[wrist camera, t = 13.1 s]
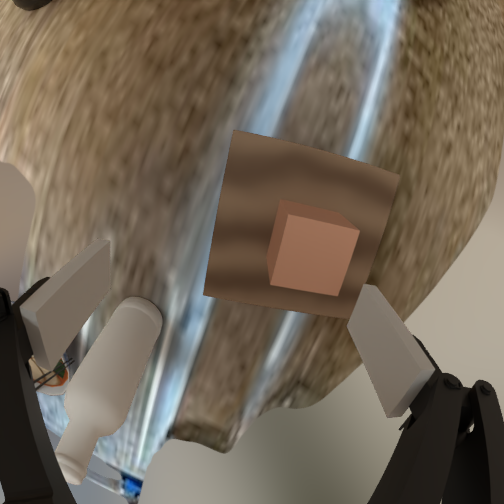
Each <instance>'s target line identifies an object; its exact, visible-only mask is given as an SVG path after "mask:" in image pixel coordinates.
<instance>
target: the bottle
mask: <svg viewBox="0 0 504 504" xmlns="http://www.w3.org/2000/svg"><path fill="white" fill-rule="evenodd" d="M162 320H163V319H162V316H161V313H160V311H159V310H158V308H157V307H156V306H155V305H154V304H153V303H151V302H150V301H149V300H147V299H144V298H141V297H129V298H126V299H125V300H124V301H122V302H121V303H120V305H119V306H118V307H117V308H116V309H115V311H114V313H113V315H112V317H111V318H110V319H109V321H108V322H107V324H106V325H105V327H104V328H103V330H102V331H101V333H100V334H99V336H98V337H97V339H96V340H95V342H94V344H93V345H92V347H91V348H90V350H89V351H88V353H87V354H86V356H85V358H84V359H83V361H82V362H81V364H80V366H79V367H78V369H77V370H76V372H75V374H74V375H73V377H72V379H71V380H70V382H69V384H68V385H67V388H66V394H65V402H64V408H65V410H66V413H67V415H68V417H69V420H70V421H69V423H68V425H67V427H66V429H65V431H64V433H63V436H62V438H61V440H60V442H59V444H58V446H57V448H56V450H55V452H54V453H55V456H56V458H57V461H58V463H59V466H60V468H61V471H62V473H63V475H64V478H65V480H66V482H68V483H71V484H74V485H80V484H81V483H82V480H83V479H84V478H85V477H86V474H87V470H86V469H87V467H88V464H89V461H90V458H91V456H92V453H93V451H94V448H95V446H96V443H97V440H98V438H99V437H103V436H108V435H111V434H114V433H115V432H116V431H117V430H118V429H119V428H120V427H121V425H122V424H123V423H124V421H125V419H126V417H127V414H128V411H129V409H130V406H131V403H132V401H133V398H134V395H135V393H136V390H137V387H138V385H139V382H140V380H141V377H142V374H143V372H144V369H145V367H146V364H147V362H148V359H149V357H150V354H151V352H152V349H153V347H154V344H155V342H156V340H157V338H158V336H159V334H160V331H161V327H162Z"/></svg>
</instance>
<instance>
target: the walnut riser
mask: <svg viewBox="0 0 504 504" xmlns="http://www.w3.org/2000/svg"><path fill="white" fill-rule="evenodd" d="M399 179H400V175H398V174H395V173H392V172H390V171H387V170H384V169H381V168H378V167H375V166H372V165H369V164H366V163H363V162H360V161H357V160H354V159H350V158H347V157H344V156H341V155H337V154H334V153H330V152H327V151H323V150H320V149H316V148H312V147H308V146H305V145H301V144H297V143H293V142H289V141H284V140H280V139H276V138H271V137H267V136H262V135H258V134H253V133H248V132H243V131H238V130H233V135H232V140H231V144H230V149H229V154H228V159H227V164H226V169H225V174H224V179H223V184H222V189H221V194H220V199H219V205H218V210H217V215H216V221H215V226H214V232H213V237H212V243H211V249H210V255H209V261H208V267H207V273H206V279H205V285H204V292H203V295H204V296H210V297H215V298H220V299H225V300H231V301H236V302H242V303H247V304H253V305H259V306H265V307H270V308H277V309H283V310H289V311H295V312H302V313H308V314H315V315H322V316H329V317H336V318H344V319H350V317H351V315H352V312H353V310H354V308H355V305H356V303H357V300H358V297H359V295H360V292H361V290H362V287H363V284H366V281H367V278H368V276H369V273H370V270H371V268H372V265H373V262H374V259H375V257H376V254H377V251H378V248H379V245H380V242H381V239H382V236H383V233H384V230H385V227H386V224H387V221H388V217H389V214H390V211H391V207H392V204H393V201H394V197H395V194H396V190H397V186H398V183H399ZM280 199H282V200H287V201H291V202H296V203H300V204H304V205H309V206H313V207H317V208H321V209H326V210H330V211H334V212H338V213H340V214H341V215H342V216H343V217H345V218H346V219H347V220H348V221H349V222H350V223H352V224H353V225H354V226H355V227H356V228H357V229H359V230H360V233H359V236H358V239H357V242H356V245H355V248H354V251H353V254H352V257H351V260H350V263H349V266H348V269H347V272H346V275H345V277H344V280H343V283H342V286H341V289H340V291H339V294H338V296H333V295H327V294H321V293H315V292H309V291H303V290H297V289H291V288H285V287H280V286H274V285H270V279H269V273H268V266H267V259H266V256H267V252H268V248H269V244H270V240H271V236H272V232H273V227H274V223H275V219H276V215H277V211H278V207H279V202H280Z"/></svg>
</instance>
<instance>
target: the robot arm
mask: <svg viewBox="0 0 504 504" xmlns="http://www.w3.org/2000/svg"><path fill="white" fill-rule="evenodd" d="M50 1H51V0H13V2H14V3H15V5H16V6H18V7H20V8H22V9H25V10H34V9H37V8H40V7H42V6H43V5H45V4H47V3H48V2H50ZM110 289H111V275H110V241H109V240H103V239H98V238H97V239H96V240H95V241H93V242H92V243H91V244H90V245H88V246H87V247H86V248H85V249H84V250H82V251H81V252H80V253H79V254H77V255H76V256H75V257H74V258H73V259H72V260H70V261H69V262H68V263H67V264H66V265H65V266H63V267H62V268H61V269H60V270H59V271H58V272H56V273H55V274H54V275H53V276H52V277H51V278H50V277H46V278H44V279H41V280H39V281H37V282H36V283H35V284H34V285H33V286H32V287H31V288H30V289H29V290H27V291H26V293H24V294H23V295H22V296H21V297H20V298H19V299H18V300H17V301H16V302H14V303H13V304H12V305H11V300H10V297H9V293H8V291H7V290H6V289H4V288H0V482H1V485H2V489H3V492H4V496H5V502H4V503H3V504H77V503H76V501H75V499H74V497H73V495H72V493H71V491H70V489H69V487H68V485H67V482H66V480H65V478H64V475H63V473H62V471H61V468H60V466H59V463H58V461H57V458H56V456H55V453H54V451H53V448H52V445H51V442H50V439H49V436H48V433H47V430H46V427H45V423H44V420H43V416H42V413H41V409H40V406H39V402H38V398H37V394H36V389H35V385H34V380H33V376H32V371H31V366H30V363H29V359H30V358H31V357H32V355H34V358H35V361H36V364H37V366H40V367H42V368H44V369H47V370H49V371H53V369H54V368H55V366H56V365H57V363H58V362H59V360H60V359H61V357H62V356H63V354H64V353H65V351H66V350H67V348H68V347H69V345H70V344H71V342H72V341H73V339H74V338H75V337H76V335H77V334H78V332H79V331H80V329H81V328H82V327H83V325H84V324H85V322H86V321H87V320H88V318H89V317H90V316H91V314H92V313H93V312H94V310H95V309H96V307H97V306H98V305H99V303H100V302H101V301H102V299H103V298H104V297H105V296H106V294H107V293H108V292H109V290H110ZM347 328H348V330H349V332H350V335H351V337H352V339H353V341H354V343H355V345H356V348H357V350H358V352H359V354H360V356H361V359H362V361H363V363H364V365H365V367H366V370H367V372H368V374H369V376H370V379H371V381H372V383H373V385H374V388H375V390H376V393H377V395H378V397H379V400H380V402H381V404H382V407H383V409H384V411H385V414H386V416H387V418H392V417H401V416H402V415H403V414H404V413H405V411H406V410H407V409H408V407H409V408H410V410H411V412H412V414H411V415H410V416H409V417H408V418H407V420H406V421H405V422H404V423H403V425H402V426H401V427H400V428H399V430H401V429H402V428H403V427H404V429H403V431H402V434H401V436H400V439H399V441H398V444H397V446H396V448H395V450H394V453H393V455H392V457H391V460H390V462H389V463H388V466H387V468H386V470H385V472H384V474H383V476H382V478H381V480H380V482H379V484H378V485H377V487H376V489H375V491H374V493H373V495H372V496H371V498H370V500H369V502H368V503H367V504H440V502H441V499H442V504H504V422H503V417H502V413H501V409H500V406H499V402H498V399H497V395H496V392H495V390H494V388H493V387H492V385H491V384H490V383H488V382H486V381H484V380H478V381H476V383H475V384H474V385H473V387H472V388H467V387H463V385H462V383H461V382H460V380H459V379H458V378H457V377H455V376H454V375H452V374H449V373H442V372H441V370H440V369H439V367H438V366H437V364H436V363H435V361H434V360H433V358H432V357H431V356H430V355H429V353H428V351H427V350H426V348H425V347H424V345H423V344H422V342H421V341H420V340H419V339H417V338H416V337H415V336H414V335H412V334H411V333H410V331H409V330H408V329H407V327H406V326H405V324H404V323H403V322H402V320H401V319H400V317H399V316H398V315H397V313H396V312H395V311H394V309H393V308H392V307H391V305H390V304H389V303H388V301H387V300H386V299H385V297H384V296H383V295H382V293H381V292H380V291H379V289H378V288H377V287H376V286H374V285H368V284H363V287H362V290H361V292H360V295H359V297H358V300H357V303H356V305H355V308H354V310H353V312H352V315H351V317H350V320H349V322H348V324H347ZM473 424H474V428H473V431H472V432H470V429H469V428H470V427H471V426H472V425H473Z"/></svg>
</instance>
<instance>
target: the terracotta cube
mask: <svg viewBox="0 0 504 504" xmlns="http://www.w3.org/2000/svg"><path fill="white" fill-rule="evenodd" d="M359 233H360V230H359V229H357V228H356V227H355V226H354V225H353V224H352V223H350V222H349V221H348V220H347V219H346V218H345V217H343V216H342V215H341V214H340V213H338V212H334V211H330V210H326V209H321V208H317V207H313V206H309V205H304V204H300V203H296V202H291V201H287V200H282V199H280V202H279V207H278V211H277V215H276V219H275V223H274V227H273V232H272V236H271V240H270V244H269V248H268V252H267V256H266V259H267V266H268V273H269V279H270V285H274V286H280V287H285V288H291V289H297V290H303V291H309V292H315V293H321V294H327V295H333V296H338V294H339V291H340V289H341V286H342V283H343V280H344V277H345V275H346V272H347V269H348V266H349V263H350V260H351V257H352V254H353V251H354V248H355V245H356V242H357V239H358V236H359Z"/></svg>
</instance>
